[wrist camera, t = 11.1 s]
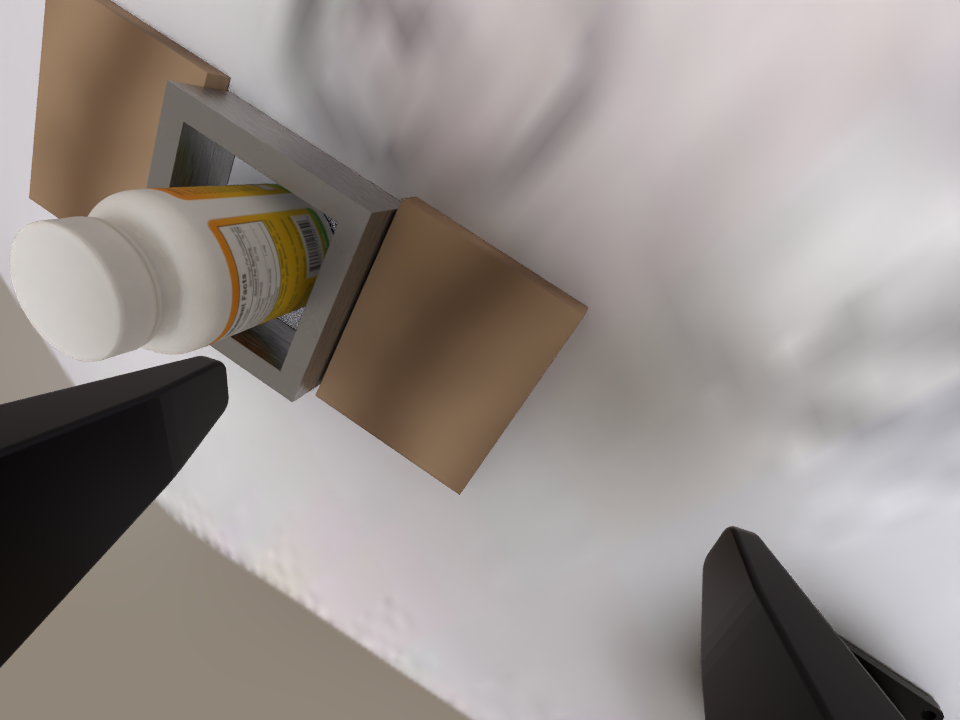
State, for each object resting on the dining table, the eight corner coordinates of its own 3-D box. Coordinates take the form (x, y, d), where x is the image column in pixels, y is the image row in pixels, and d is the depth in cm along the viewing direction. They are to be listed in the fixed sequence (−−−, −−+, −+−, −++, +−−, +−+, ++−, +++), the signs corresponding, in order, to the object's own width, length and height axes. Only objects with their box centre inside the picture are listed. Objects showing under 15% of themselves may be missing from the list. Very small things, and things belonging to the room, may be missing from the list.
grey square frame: (408, 207, 20) (371, 212, 18) (332, 376, 24) (292, 402, 22) (229, 91, 21) (167, 79, 18) (183, 274, 25) (127, 287, 22)
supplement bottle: (219, 250, 24) (-27, 297, 15) (268, 155, 22) (8, 145, 13) (303, 329, 24) (106, 420, 15) (362, 242, 22) (167, 292, 13)
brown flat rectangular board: (587, 307, 20) (584, 315, 18) (468, 480, 24) (459, 494, 23) (78, -20, 21) (48, -30, 20) (55, 196, 26) (29, 198, 25)
